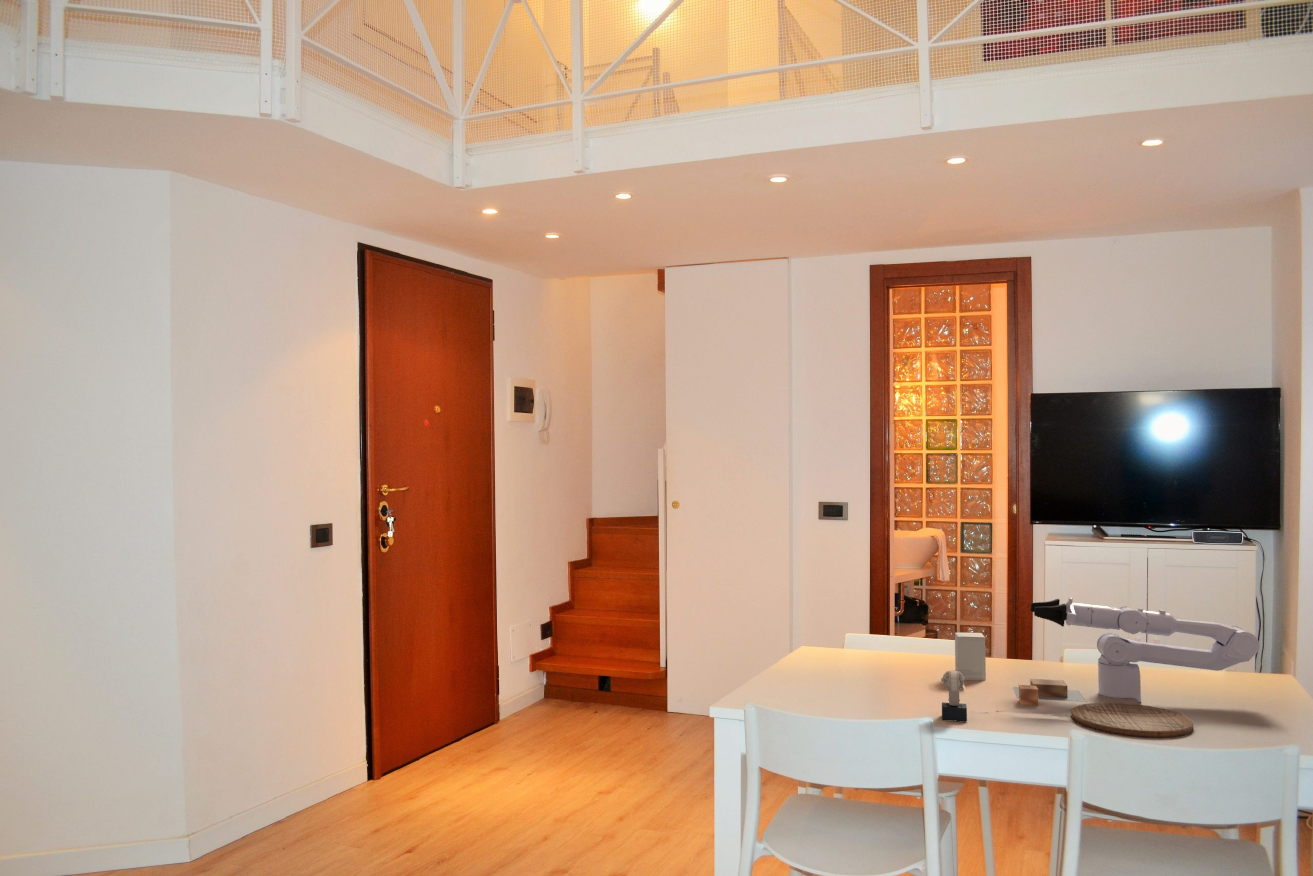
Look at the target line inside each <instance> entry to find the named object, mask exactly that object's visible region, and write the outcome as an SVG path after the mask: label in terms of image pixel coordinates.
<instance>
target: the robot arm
mask: <svg viewBox="0 0 1313 876" xmlns="http://www.w3.org/2000/svg"><path fill="white" fill-rule="evenodd" d="M1060 600H1061V599H1060V598H1055V599H1053V600H1049V601H1039V602H1037V601H1036V602H1031V603H1030V612H1032V613H1033V614H1034V615H1033V616H1035V617H1037V618H1040V619H1044V620H1046V621H1047V620H1048V621H1050V622H1053V623H1056V624H1057V625H1058V626H1061V627H1065V624H1066V626H1068V627H1069V626H1076V627H1077V626H1078V627H1087V628H1093V629H1094V628H1096V629H1104V630H1122V631H1123V632H1125V633H1128V634H1131V635H1136V634H1139V633H1141V634H1147V635H1156V636H1163V637H1170V636H1171V635H1173V634H1174V633H1179V634H1180V633H1181V634H1187V635H1193V636H1194V635H1195V636H1201V637H1207V638H1212V639H1214V640H1215V642H1214V643H1212V645H1211V646H1210V647H1209V648H1208V649H1206V648H1205V649H1204V648H1196V647H1188V646H1179V645H1172V644H1171V645H1170V644H1161V643H1155V642H1146V641H1139V640H1138V641H1137V640H1134V639H1129V638H1125V637H1121V636H1120V635H1118V634H1116V633H1113V632H1106V633H1103V634H1101V635H1100V636H1099V637H1098V639H1097V642H1096V648H1097V650H1098V652H1099V653H1100V656H1099V658H1098V659H1097V667H1098V668H1097V675H1098V678H1097V679H1098V681H1097V682H1098V694H1099V695H1101V696H1104V697H1108V698H1116V699H1117V698H1120V699H1121V698H1122V699H1123V698H1126V699H1127V698H1128V699H1135V700H1136V701H1137V702H1138V703H1142V692H1141V691H1142V690H1141V688H1142V686H1141V671H1140V667H1139V665H1138V664H1137V663H1139V662H1142V663H1143V662H1144V663H1152V664H1161V665H1169V666H1170V665H1171V666H1177V667H1178V666H1179V667H1183V668H1184V667H1185V668H1192V669H1193V668H1195V669H1201V670H1210V671H1222V670H1225V669H1228V668H1231V667H1233V666H1235V665H1239V664H1240V663H1246V662H1247V663H1248V662H1249V661H1251V660H1252V659H1253V658H1254V656H1255V655H1257V653H1258V651H1259V649H1260V642H1259V640H1258V638H1257V636H1256V635H1255V634H1253V633H1251V632H1249V631H1245V630H1244V629H1243V628H1241V627H1239V626H1235V625H1229V624H1226V623H1221V622H1216V621H1215V622H1213V621H1205V620H1191V619H1178V618H1175V617H1174V616H1173V615H1172V613H1169V612H1167V611H1166V610H1164V609H1158V611H1153V610H1144V608H1142V607H1138V608H1137V610H1134V609H1133V608H1132V607H1131V608H1130V607H1128V606H1120V607H1119V608H1118V607H1111V606H1107V605H1098V604H1090V603H1081V602H1073V598H1072V597H1068V600H1067V602H1066V603H1062V604H1060Z"/></svg>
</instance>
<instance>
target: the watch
mask: <svg viewBox="0 0 1313 876" xmlns="http://www.w3.org/2000/svg"><path fill="white" fill-rule="evenodd" d="M940 681H941V682H943V685H944V687H945V688H946V691H947V692H948V702H941V720H942V721H945V720H956V721H955V722H960V721H967V722H968V707H967V706H968V705H967V703H960V702H961V699H960V692H961V691H962V689H963V686H964V685H965V680H964V676H963V675H962V674H961V672H959V671H955V670H947V671H945V672H944V674H943V675H942V677H941V678H940Z"/></svg>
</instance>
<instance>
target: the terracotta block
mask: <svg viewBox="0 0 1313 876" xmlns="http://www.w3.org/2000/svg"><path fill="white" fill-rule="evenodd" d="M1018 687H1019V698H1018V702H1019V704H1020V705H1021V706H1032V707H1033V706H1035V707H1039V699H1038V688H1037V686H1032V685H1028V684H1018Z"/></svg>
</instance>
